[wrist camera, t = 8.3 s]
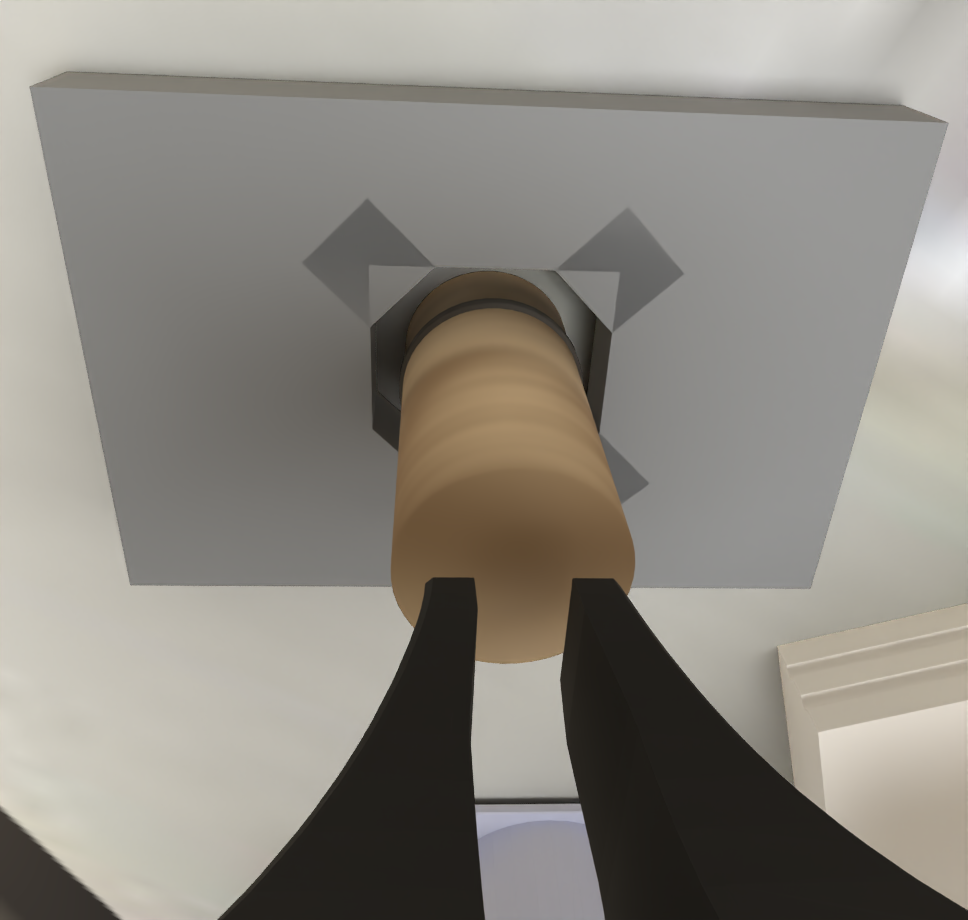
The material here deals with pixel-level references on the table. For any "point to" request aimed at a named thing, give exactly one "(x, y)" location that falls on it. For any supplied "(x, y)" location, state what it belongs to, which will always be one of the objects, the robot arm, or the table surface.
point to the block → (888, 738)
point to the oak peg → (501, 466)
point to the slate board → (472, 244)
